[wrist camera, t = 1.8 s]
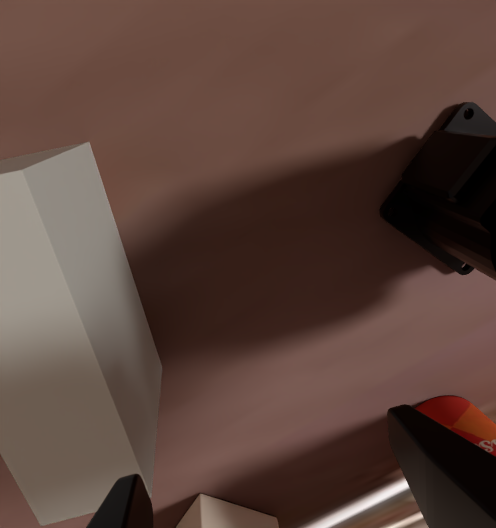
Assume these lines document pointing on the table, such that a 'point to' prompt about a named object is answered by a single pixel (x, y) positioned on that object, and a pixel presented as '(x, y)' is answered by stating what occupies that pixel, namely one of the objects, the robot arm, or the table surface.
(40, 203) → the t block
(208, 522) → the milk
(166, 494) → the table surface
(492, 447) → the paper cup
